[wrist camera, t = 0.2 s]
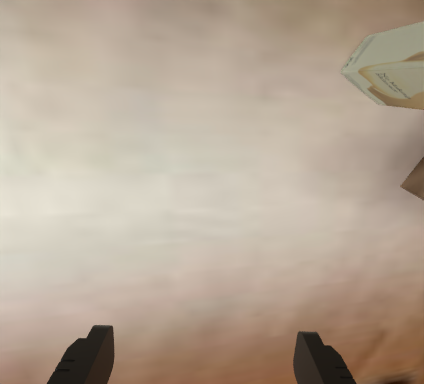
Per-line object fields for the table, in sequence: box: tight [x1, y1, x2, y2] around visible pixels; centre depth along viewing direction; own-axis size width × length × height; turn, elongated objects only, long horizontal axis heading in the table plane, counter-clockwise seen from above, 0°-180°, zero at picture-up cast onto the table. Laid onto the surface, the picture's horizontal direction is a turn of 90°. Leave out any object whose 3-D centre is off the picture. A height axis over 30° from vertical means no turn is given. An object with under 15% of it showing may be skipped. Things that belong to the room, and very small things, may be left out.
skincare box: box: [341, 21, 424, 110], centre depth 25 cm, size 6×4×12 cm
